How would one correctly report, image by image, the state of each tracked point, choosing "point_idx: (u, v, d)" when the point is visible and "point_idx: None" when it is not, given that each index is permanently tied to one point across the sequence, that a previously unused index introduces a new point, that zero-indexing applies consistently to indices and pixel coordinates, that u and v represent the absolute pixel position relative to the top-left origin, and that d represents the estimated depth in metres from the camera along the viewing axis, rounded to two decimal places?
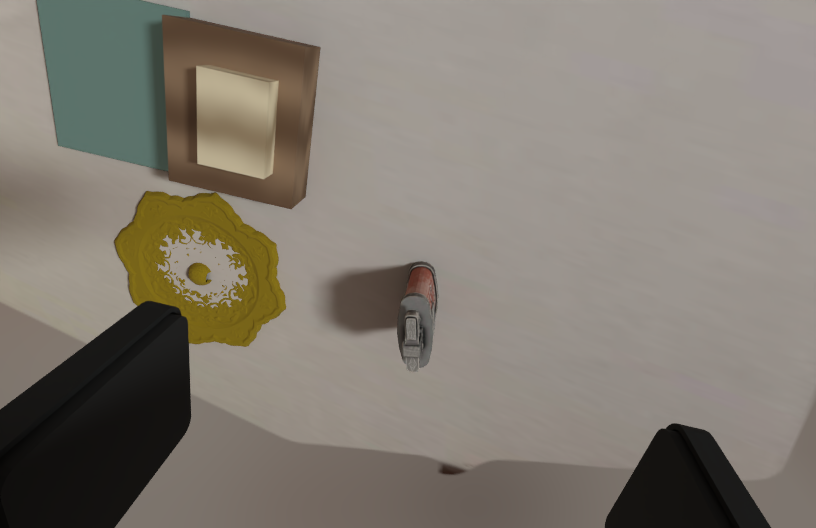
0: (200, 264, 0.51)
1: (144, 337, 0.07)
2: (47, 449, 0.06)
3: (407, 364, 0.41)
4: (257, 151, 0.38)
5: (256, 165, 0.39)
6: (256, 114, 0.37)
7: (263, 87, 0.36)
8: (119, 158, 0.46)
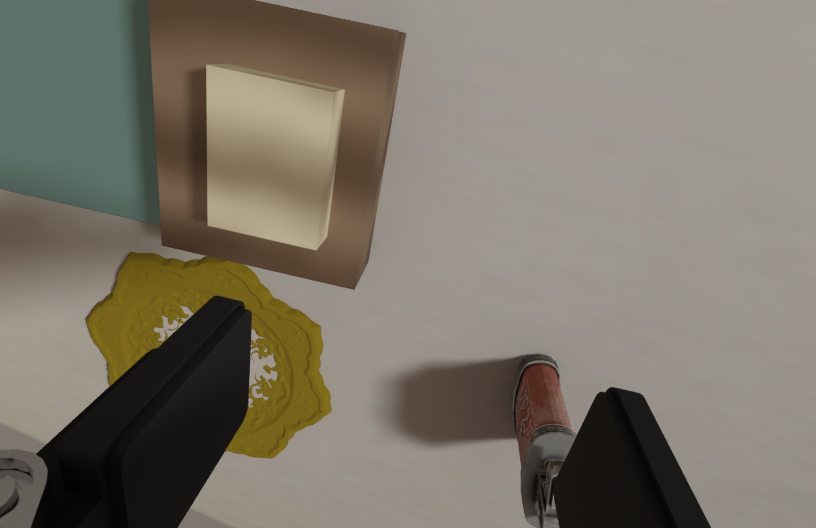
0: None
1: (219, 329, 0.08)
2: (153, 428, 0.06)
3: None
4: (308, 207, 0.23)
5: (305, 229, 0.23)
6: (308, 147, 0.22)
7: (323, 101, 0.21)
8: (88, 207, 0.31)
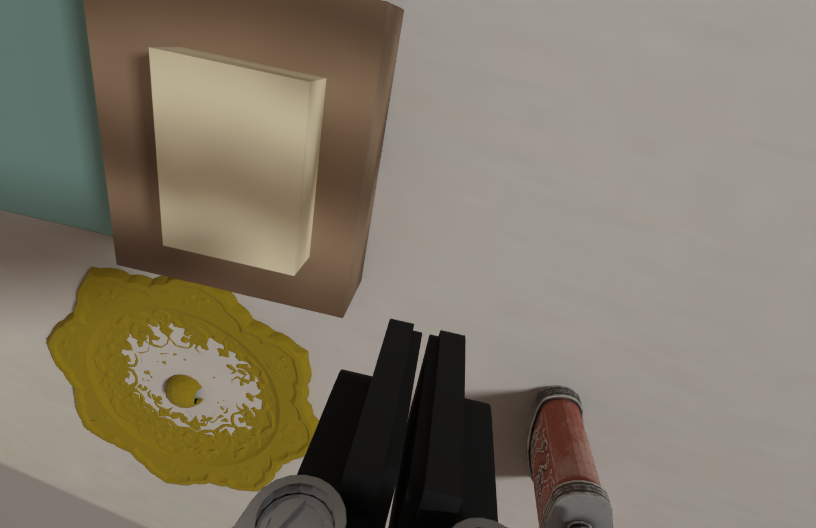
0: (184, 377, 0.31)
1: (410, 352, 0.08)
2: None
3: None
4: (282, 224, 0.19)
5: (280, 250, 0.19)
6: (280, 151, 0.17)
7: (297, 93, 0.16)
8: (39, 216, 0.27)
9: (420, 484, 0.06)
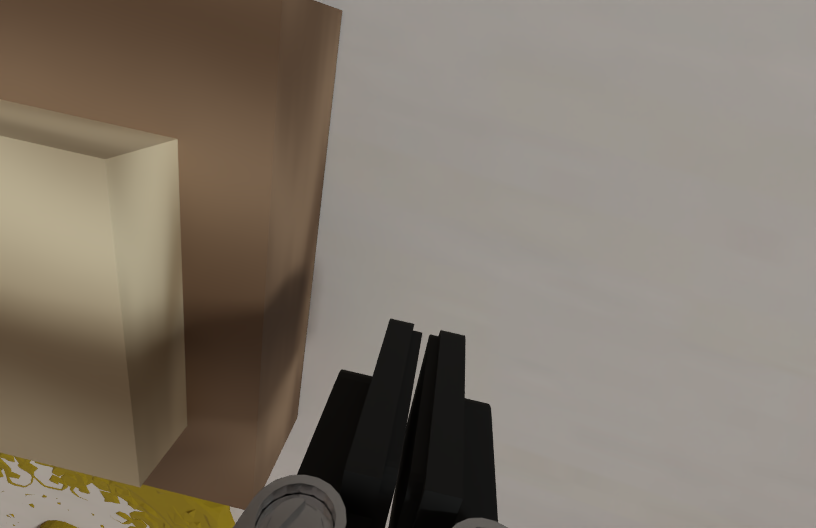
0: (61, 525, 0.22)
1: (410, 352, 0.08)
2: None
3: None
4: (103, 409, 0.10)
5: (107, 449, 0.10)
6: (73, 290, 0.09)
7: (83, 181, 0.08)
8: None
9: (420, 484, 0.06)
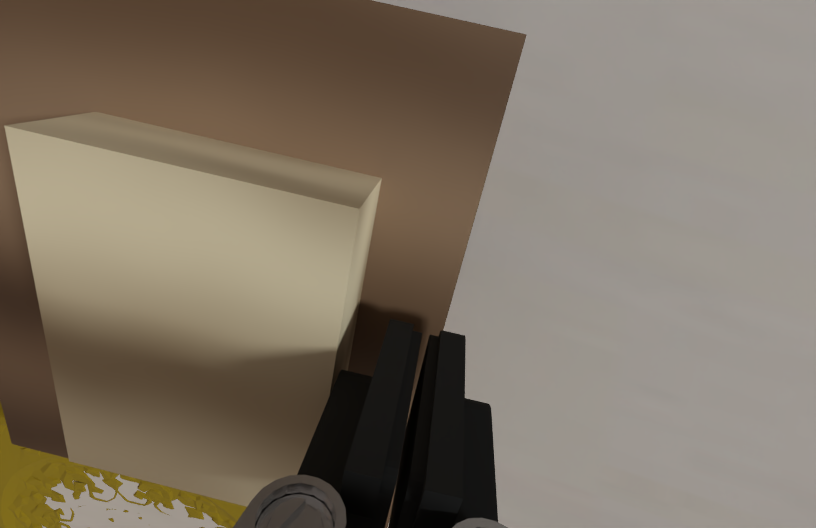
0: None
1: (410, 352, 0.08)
2: None
3: None
4: (290, 448, 0.10)
5: None
6: (290, 333, 0.08)
7: (330, 230, 0.07)
8: None
9: (420, 484, 0.06)
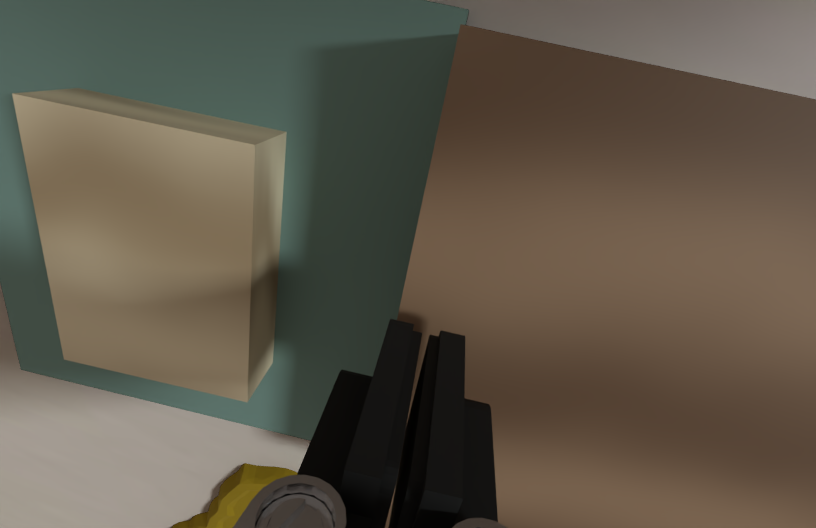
0: None
1: (410, 352, 0.08)
2: None
3: None
4: None
5: None
6: None
7: None
8: (183, 406, 0.17)
9: (420, 484, 0.06)
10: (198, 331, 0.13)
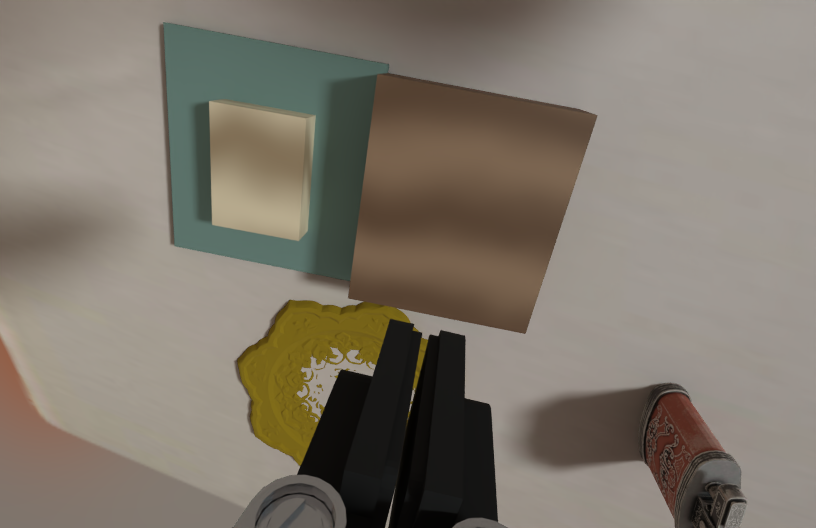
0: None
1: (410, 352, 0.08)
2: None
3: None
4: None
5: None
6: None
7: None
8: (260, 261, 0.33)
9: (420, 484, 0.06)
10: (278, 204, 0.29)
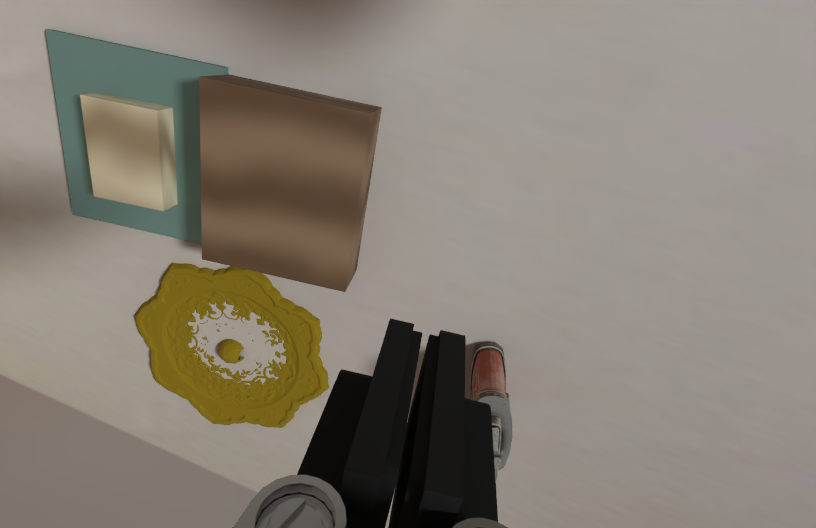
0: (232, 341, 0.45)
1: (410, 352, 0.08)
2: None
3: None
4: None
5: None
6: None
7: None
8: (142, 228, 0.40)
9: (420, 484, 0.06)
10: (143, 180, 0.36)
